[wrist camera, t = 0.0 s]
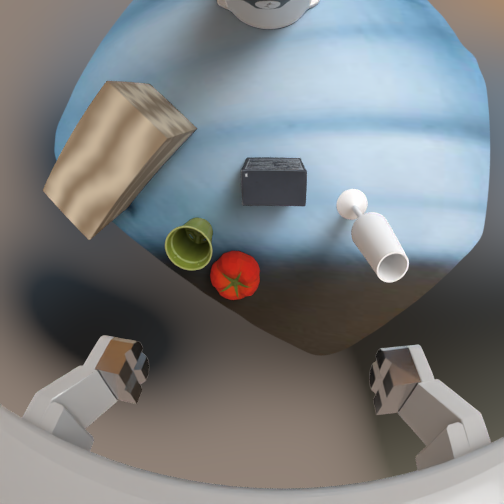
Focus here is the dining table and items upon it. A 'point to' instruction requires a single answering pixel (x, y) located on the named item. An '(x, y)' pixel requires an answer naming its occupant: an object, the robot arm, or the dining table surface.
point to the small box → (274, 182)
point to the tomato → (235, 275)
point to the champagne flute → (373, 237)
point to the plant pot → (190, 244)
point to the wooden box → (114, 153)
